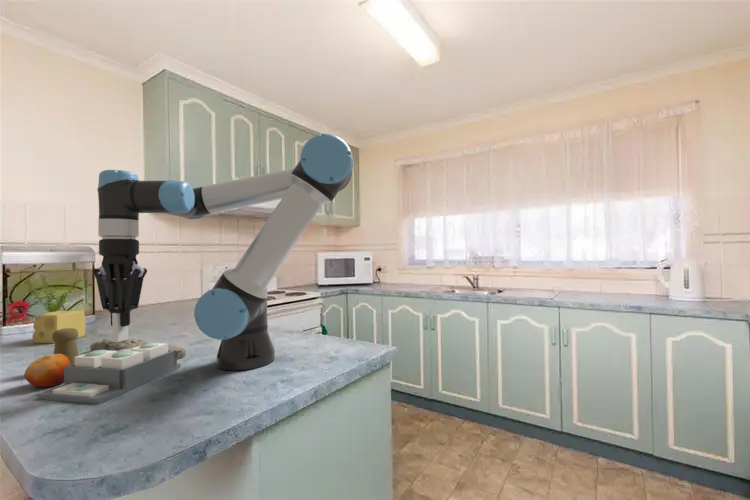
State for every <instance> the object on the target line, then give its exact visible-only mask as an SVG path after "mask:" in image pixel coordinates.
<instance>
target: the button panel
mask: <svg viewBox="0 0 750 500" xmlns="http://www.w3.org/2000/svg"><path fill="white" fill-rule="evenodd" d="M124 349H132V348H124ZM124 349H121V350H124ZM118 351H120V350H118ZM177 360H178V359H177V351H176V350H168V352H167V353H164V354H162V355H159V356H156V357H154V358H151V359H143V362H140V363H138V364H135V365H132V366H129V367H127V368H124V369H111V368H101V366H98V367H95V368H94V367H76V366H75V364H73V365H70V366H66V367H64V382H63V383H64V384H63V385H61V386H57V387H54V388H52V389H49V390H45V391H43V392H41V393H38V394H37V399H38V400H47V401H48V400H49V401H57V402H68V403H69V402H70V403H71V402H72V403H85V404H95V405H101V404H103V403H104V402H106V401H109V400H112V399H113V398H116V397H118V396H120V395H123V394H124V393H127V392H129V391H132V390H133V389H136V388H138V387H140V386H142V385H145V384H147V383H149V382H151V381H154V380H157V379H158V378H160V377H163V376H165V375H167V374H169V373H171V372H175V371H176V370H178V369H180V368H181V366H182V365H181V363H178V361H177Z"/></svg>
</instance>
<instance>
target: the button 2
mask: <svg viewBox="0 0 750 500" xmlns="http://www.w3.org/2000/svg"><path fill="white" fill-rule="evenodd" d="M140 362H143V352H133V351H123V352H118V353H114V354H112V355H110V356H107V357H104V358H101V368H111V369H124V368H127V367H129V366H132V365H135V364H138V363H140Z"/></svg>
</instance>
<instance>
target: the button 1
mask: <svg viewBox="0 0 750 500" xmlns="http://www.w3.org/2000/svg"><path fill="white" fill-rule="evenodd" d="M114 353H117V351H108V350H96V351H88V352H86V353H84V354H81V355H80V354H79V356H76V357H74V359H75V366H76V367H94V368H95V367H98V366H101V358H104V357H107V356H110V355H112V354H114Z"/></svg>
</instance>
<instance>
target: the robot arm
mask: <svg viewBox="0 0 750 500" xmlns="http://www.w3.org/2000/svg"><path fill="white" fill-rule="evenodd" d="M299 157H300V159H299V161H298V163H296V166H294V167H293V168H287V169H284V170H282V169H281V170H278V171H273V172H267V173H263V174H258V175H253V176H248V177H243V178H239V179H232V180H229V181H228V180H227V181H223V182H218V183H215V184H214V183H213V184H209V185H208V184H207V185H204V186H198V187H195V188H193V187H192V186H191V184H190V183H189V182H187V181H186V180H185V181H184V180H175V179H170V180H168V179H167V180H139V176H138V174H136V173H134V172H132V171H129V170H128V171H127V170H118V169H105V170H104V169H103V170H102V171H101V172H99V174H98V184H97V185H98V187H97V196H98V230H97V231H98V232H97V233H98V236H99V237H100V238H101V239H99V240H98V254H99V256H102V261H101V266H99V267H98V268H93V269H92V274H93V276H94V277H95V279H96V285H97V288H98V293H99V295H98V296H99V298H100V299H99V300H100V304H101V309H102V310H107V311H108V313H110V325H111V327H112V333H111V335H112V338H111V340H113V342H119V341H123V340H126V339H128V340H130V339H129V338H130V337H129V326H130V324H131V311H132V310H137V309H138V308H139V305H140V298H141V294H142V289H143V283H144V278H145V277H146V275H147V273H148V269H147V268H145V267H144V268H143V267H141V266H140V265H139V262H138V260H137V255H139V253H140V240H138V239H137V238H138V237H139V236H140V234H139V232H140V231H139V229H140V227H139V226H140V223H139V218H140V217H139V216H140V214H146V213H147V214H166V215H171V216H176V217H180V218H184V219H188V220H199V219H202V218H204V217H206V215H210V214H216V213H220V212H225V211H230V210H235V209H240V208H245V207H249V206H254V205H260V204H264V203H267V202H268V203H269V202H273V201H279V200H280V201H279V202H278V204H277V205H276V207H275V208H274V210H273V211H272V213H271V214H270V216H269V217H268V218H267V220H266V222H265V223H264V224H263V226H262V227H261V229H260V230H259V231H258V233H257V235H256V236H255V238H254V239H253V240H252V242H251V243H250V245H249V246H248V248H247V249H246V251H245V252H244V254H243V255H242V256H241V258H240V259H239V261H238V263H237V264H236V265H235V267H234V268H231V269H227V270H224V271H223V272H222V273H221V275H220V276H219V278H218V280H217V281H216V282H215V284H214V285H213V286H212V288H211V289H208V290H207V291H206V292H204V293H203V294H202V295H201V296H200V297H199V299H198V300H197V302H196V303H195V306H194V310H193V316H194V320H195V321H194V322H195V323H196V326H197V327H198V330H200V331H201V332H202V334H204V335H206V336H207V337H208V338H212V339H215V340H218V341H219V340H221V342H220V344H219V348H218V350H217V354H216V360H215V362H216V367H217V368H218V369H220V370H223V371H224V370H225V371H245V370H252V369H257V368H260V367H263V366H266V365H268V364H270V363H273V362H274V361H275V359H276V354H275V353H276V352H275V348H274V344H273V342H272V340H271V337H270V333H269V330H268V329H269V327H268V323H269V322H268V296H269V294H268V285H269V284H270V283H271V281H272V279H273V278H274V277H275V275H276V273H277V272H278V270H279V269H280V268H281V267H282V265H283V263H284V262H285V261H286V259H287V257H288V256H289V255H290V253H291V251H292V250H293V248H294V247H295V246H296V244H297V242H298V241H299V240H300V238H301V237H302V235H303V233H304V232H305V231H306V230H307V228H308V226H309V225H310V223H312V220H313V219H314V217H315V216H316V214H317V213H318V212H319V211H320V209H321V207H322V206H323V205H327V204H328V205H329V204H332V202H333V201H334V199H335V197H336V196H337V194H338V193H339V192H341V191H342V190H344V189H345V188H346V187H347V186H348V185H349V183H350V181H351V179H352V173H353V171H352V170H353V166H354V157H353V153H352V151H351V148H350V146H349V145H348V144H347V143H346V142H345V141H344V139H342V138H341V137H339V136H337V135H334V134H331V133H320V134H317V135H316V134H315V135H314V136H312V137H311V138H309V139H308V140H307V141H306V142H305V143H304V145H303V147H302V149H301V152H300V156H299Z"/></svg>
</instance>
